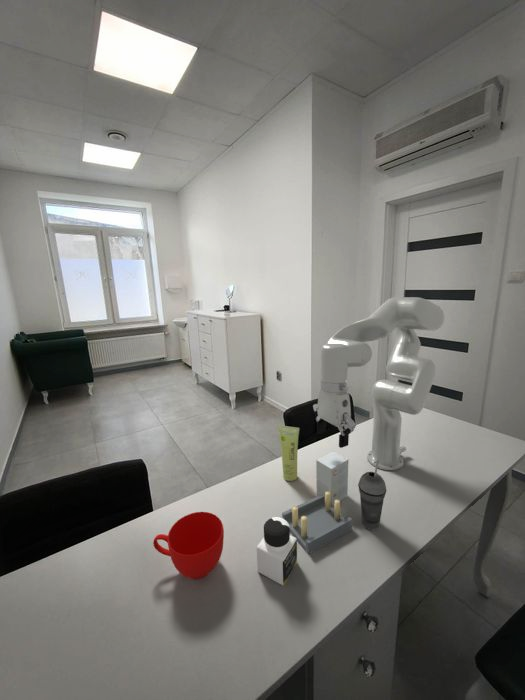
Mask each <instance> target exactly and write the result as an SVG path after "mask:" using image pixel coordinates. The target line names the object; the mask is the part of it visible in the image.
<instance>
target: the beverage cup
mask: <svg viewBox="0 0 525 700" xmlns="http://www.w3.org/2000/svg"><path fill="white" fill-rule="evenodd" d="M378 463H379V461H377V463H376V467H375V469H374V471H367V472H364V473H363V474H362V475H361V476H360V478H359V480H358V481H359V482H358V484H357V487H358V491H359V492H358V493H359V495H360V497H359V498H360V499H359V500H360V514H361V515H360V517H361V523H362V525H363V527H364V528H365V529H368V530H371V531H372V530H373V531H375V530H378V528H379V527H380V522H381V518H382V512H383V511H382V510H383V505H384V499H385V496H386V494H387V486H386V481H385V480H384V478H383V477H382V476H381V474H379V473H378V469H379V468H378Z"/></svg>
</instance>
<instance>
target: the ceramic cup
mask: <svg viewBox="0 0 525 700" xmlns="http://www.w3.org/2000/svg"><path fill="white" fill-rule="evenodd" d="M170 527H171V528H170V530H169V531H168V533H167V534H161V533H160V534H157V535H156V536H155V537H154V538H153V542H152V543H153V547H154V549H155V550H156V552H158V553H160V554H161V555H164V556H168V557H170V560H171V561H172V564H173V566H174V568H175V569H176V571H178V573H179V574H180V575H181V576H183V577H184V578H187V579H191V580H201V579H204V578H205V577H206V576H208V575H209V574H210V573H211V572H212V571H213V570H214V569H215V568H216V566H217V565H218V563H219V561H220V560H221V557H222V554H223V549H224V539H225V538H224V537H225V536H224V535H225V534H224V533H225V531H224V524H223V522H222V520H221V519H220V518H219V516H218V515H216V514H213V513H211V512H207V511H196V512H192V513H188V514H186V515H184V516H182V517H181V518H179V519H178V520H176V521H175V523H174V524H173V525H172V526H170ZM158 540H162V541H165V542H166V543H167V546H168V549H167V548H165V547H163V546H161V545H160V544H159V543H158Z"/></svg>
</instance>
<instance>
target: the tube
mask: <svg viewBox="0 0 525 700" xmlns="http://www.w3.org/2000/svg"><path fill="white" fill-rule="evenodd" d="M277 427H278V431H279V440H280V449H281V452H280V453H281V462H282V476H283V477H282V478H283V479H284V481H288V482H293V481H296V480H297V479H298V452H299V451H298V448H299V447H298V446H299V435H300V427H295V426H287V425H282V424H280V425H279V424H278V426H277Z"/></svg>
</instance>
